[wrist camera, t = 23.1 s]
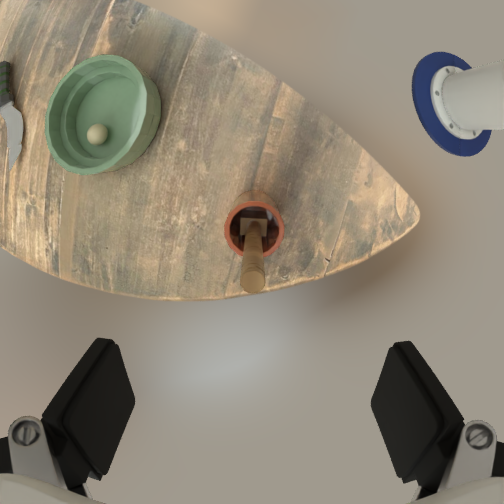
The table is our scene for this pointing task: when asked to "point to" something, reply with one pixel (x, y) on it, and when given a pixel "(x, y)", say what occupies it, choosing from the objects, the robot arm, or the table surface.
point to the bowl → (102, 115)
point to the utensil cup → (254, 202)
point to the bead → (97, 134)
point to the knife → (10, 115)
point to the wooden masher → (253, 250)
